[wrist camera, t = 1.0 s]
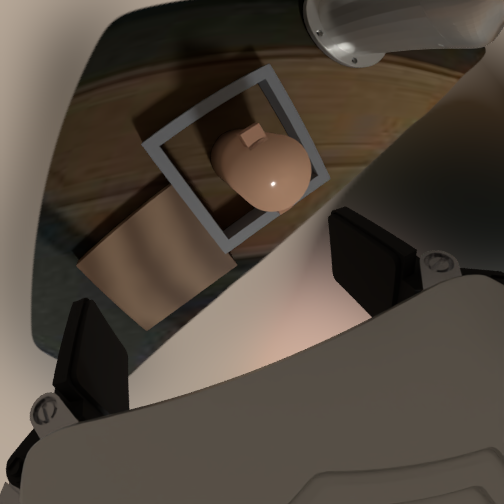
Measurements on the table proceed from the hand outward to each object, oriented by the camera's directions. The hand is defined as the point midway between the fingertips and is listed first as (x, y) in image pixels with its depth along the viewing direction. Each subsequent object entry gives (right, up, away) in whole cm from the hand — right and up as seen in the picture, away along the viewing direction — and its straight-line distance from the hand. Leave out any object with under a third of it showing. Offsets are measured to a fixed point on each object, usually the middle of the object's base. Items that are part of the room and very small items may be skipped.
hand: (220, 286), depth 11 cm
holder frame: (0, +11, +19) cm, 22 cm away
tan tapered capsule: (0, +11, +19) cm, 23 cm away
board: (-10, 0, +21) cm, 23 cm away
